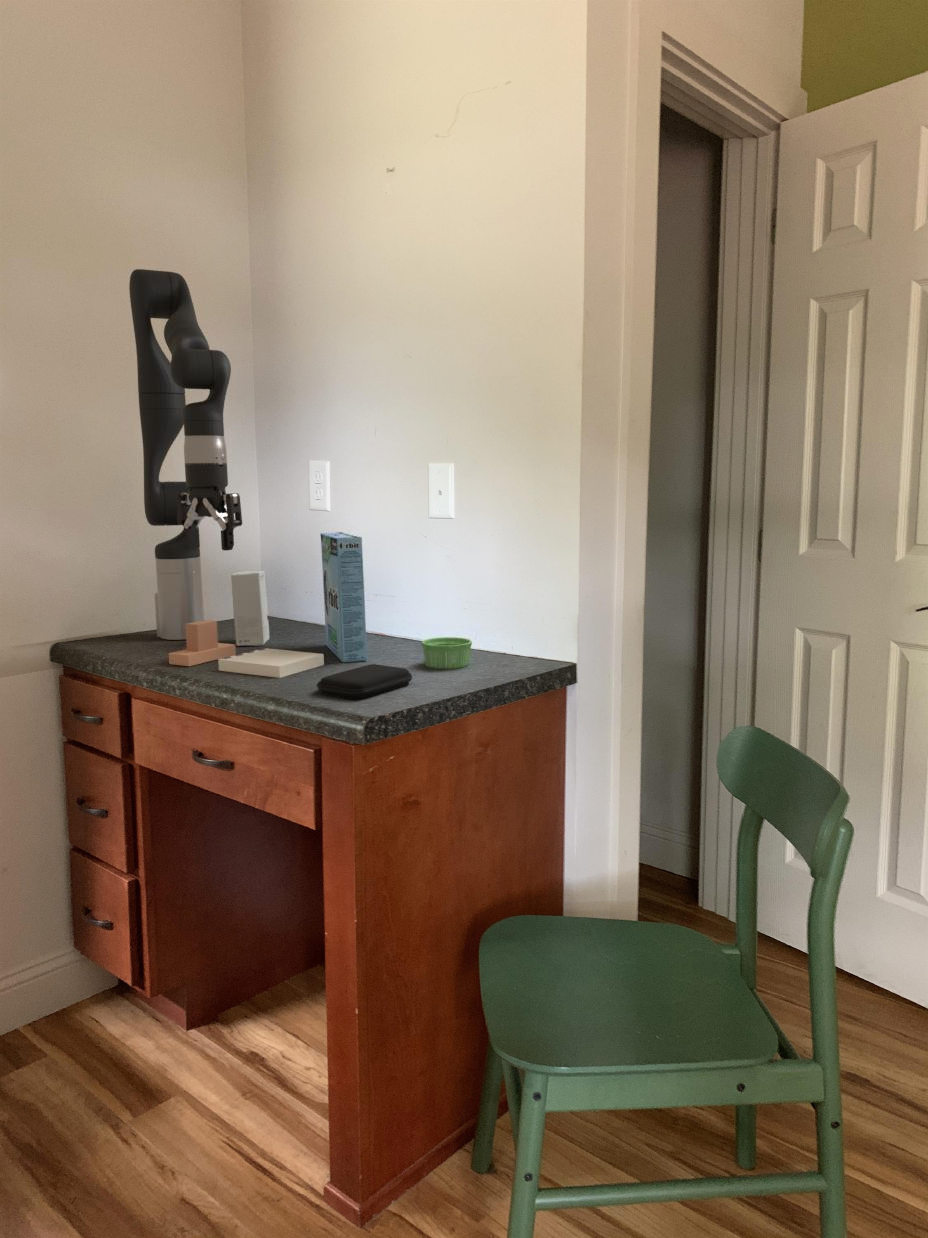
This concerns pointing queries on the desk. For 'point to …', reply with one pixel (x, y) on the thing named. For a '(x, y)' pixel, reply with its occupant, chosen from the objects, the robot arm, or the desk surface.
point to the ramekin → (447, 652)
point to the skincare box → (250, 608)
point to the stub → (201, 645)
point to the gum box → (344, 596)
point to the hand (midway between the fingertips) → (210, 549)
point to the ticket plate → (271, 662)
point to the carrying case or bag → (364, 681)
